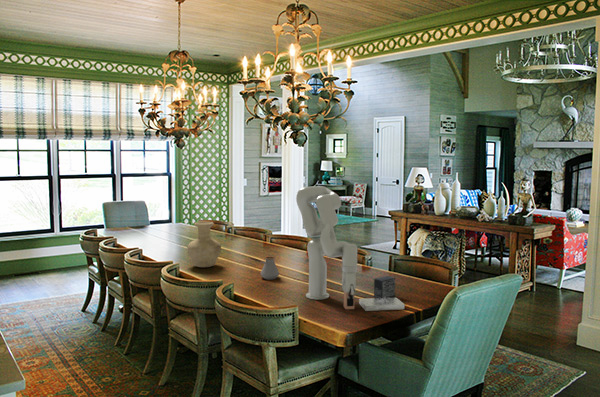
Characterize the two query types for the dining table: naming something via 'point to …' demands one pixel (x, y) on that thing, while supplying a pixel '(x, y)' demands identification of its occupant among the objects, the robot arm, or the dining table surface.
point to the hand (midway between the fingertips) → (348, 304)
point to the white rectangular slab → (381, 304)
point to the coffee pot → (268, 268)
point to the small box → (384, 287)
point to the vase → (204, 247)
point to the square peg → (346, 300)
